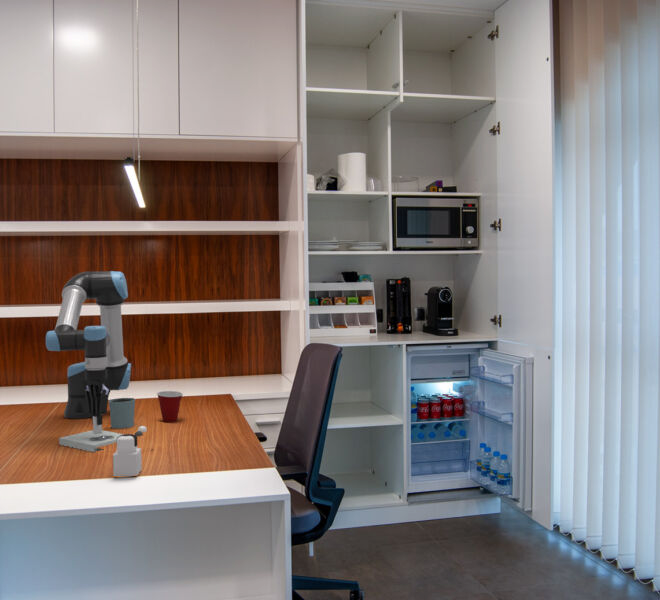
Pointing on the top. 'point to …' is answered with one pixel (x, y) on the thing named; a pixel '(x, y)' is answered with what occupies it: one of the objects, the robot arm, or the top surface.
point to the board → (89, 440)
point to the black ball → (138, 433)
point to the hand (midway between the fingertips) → (97, 433)
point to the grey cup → (122, 412)
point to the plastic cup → (169, 405)
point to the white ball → (142, 429)
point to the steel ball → (102, 438)
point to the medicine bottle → (127, 456)
